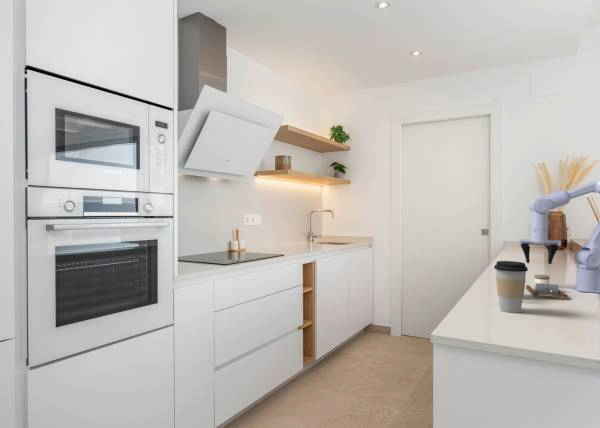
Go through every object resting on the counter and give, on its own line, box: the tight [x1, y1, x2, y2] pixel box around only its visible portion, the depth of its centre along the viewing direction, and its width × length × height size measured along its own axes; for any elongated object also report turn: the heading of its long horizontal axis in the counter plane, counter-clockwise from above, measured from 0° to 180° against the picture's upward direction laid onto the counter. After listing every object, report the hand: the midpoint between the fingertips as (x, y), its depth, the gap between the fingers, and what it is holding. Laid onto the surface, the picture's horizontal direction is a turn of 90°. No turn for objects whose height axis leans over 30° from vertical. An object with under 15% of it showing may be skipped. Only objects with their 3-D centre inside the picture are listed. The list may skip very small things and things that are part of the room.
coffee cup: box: [493, 260, 529, 314], centre depth 126 cm, size 9×9×15 cm
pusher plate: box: [536, 283, 559, 296], centre depth 145 cm, size 7×8×4 cm
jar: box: [533, 274, 550, 291], centre depth 154 cm, size 5×5×6 cm
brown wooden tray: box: [525, 284, 570, 301], centre depth 150 cm, size 10×16×2 cm, turn 162°
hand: (538, 263), depth 160 cm, fingers open, 7 cm apart
